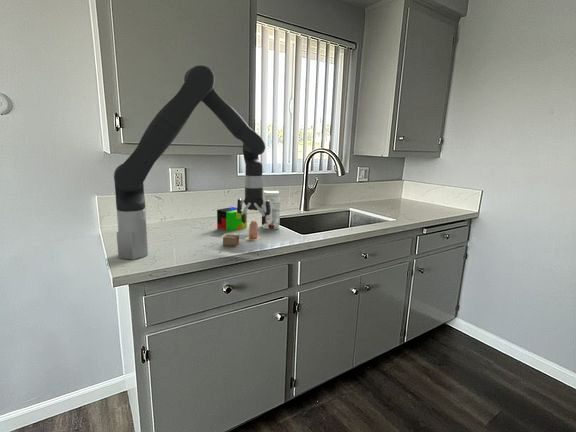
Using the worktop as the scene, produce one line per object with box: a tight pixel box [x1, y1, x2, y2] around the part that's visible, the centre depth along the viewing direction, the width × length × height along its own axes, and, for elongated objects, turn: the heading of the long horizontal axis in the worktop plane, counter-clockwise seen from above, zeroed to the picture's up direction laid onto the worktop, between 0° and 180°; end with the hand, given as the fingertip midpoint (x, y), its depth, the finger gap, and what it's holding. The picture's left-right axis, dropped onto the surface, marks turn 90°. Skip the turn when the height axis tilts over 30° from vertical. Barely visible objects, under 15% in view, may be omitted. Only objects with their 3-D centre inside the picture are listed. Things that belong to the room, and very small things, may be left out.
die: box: [222, 233, 240, 248], centre depth 131 cm, size 5×5×5 cm
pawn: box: [248, 220, 259, 239], centre depth 141 cm, size 4×4×8 cm
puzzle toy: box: [216, 206, 248, 232], centre depth 158 cm, size 10×10×10 cm
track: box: [209, 231, 262, 242], centre depth 144 cm, size 7×22×1 cm, turn 78°
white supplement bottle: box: [261, 190, 281, 230], centre depth 160 cm, size 8×9×19 cm
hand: (253, 223), depth 141 cm, fingers open, 8 cm apart
